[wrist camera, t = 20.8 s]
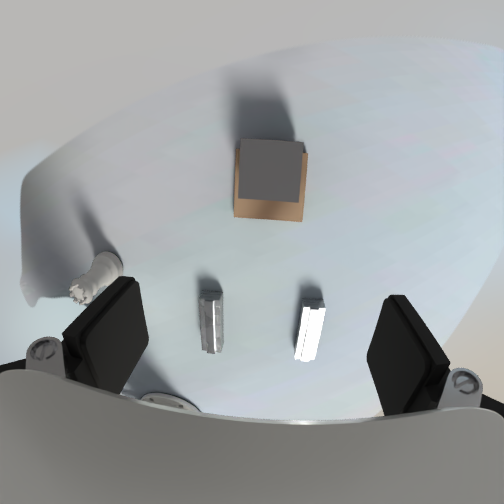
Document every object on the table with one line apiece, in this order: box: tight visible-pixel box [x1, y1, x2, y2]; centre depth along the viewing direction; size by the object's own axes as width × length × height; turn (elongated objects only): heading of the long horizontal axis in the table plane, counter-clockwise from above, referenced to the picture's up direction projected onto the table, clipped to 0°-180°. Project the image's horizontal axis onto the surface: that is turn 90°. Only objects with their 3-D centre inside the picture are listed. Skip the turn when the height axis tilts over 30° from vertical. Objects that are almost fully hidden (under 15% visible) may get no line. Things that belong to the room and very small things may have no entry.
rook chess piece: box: [69, 251, 123, 305], centre depth 30 cm, size 4×4×8 cm
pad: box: [234, 149, 308, 222], centre depth 28 cm, size 7×7×1 cm
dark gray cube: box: [238, 138, 304, 203], centre depth 24 cm, size 5×5×5 cm
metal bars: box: [199, 290, 326, 361], centre depth 33 cm, size 14×8×2 cm, turn 87°
